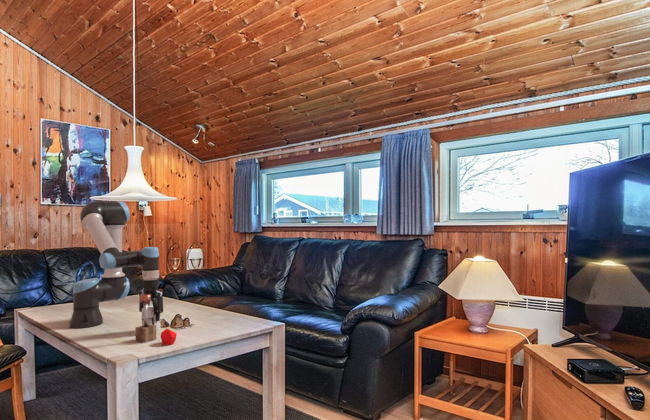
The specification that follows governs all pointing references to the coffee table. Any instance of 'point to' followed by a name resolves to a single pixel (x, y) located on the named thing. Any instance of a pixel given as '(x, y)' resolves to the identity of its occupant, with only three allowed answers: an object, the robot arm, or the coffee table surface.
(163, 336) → the apple
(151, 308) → the ink box
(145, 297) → the awl
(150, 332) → the awl socket
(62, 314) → the coffee table surface
